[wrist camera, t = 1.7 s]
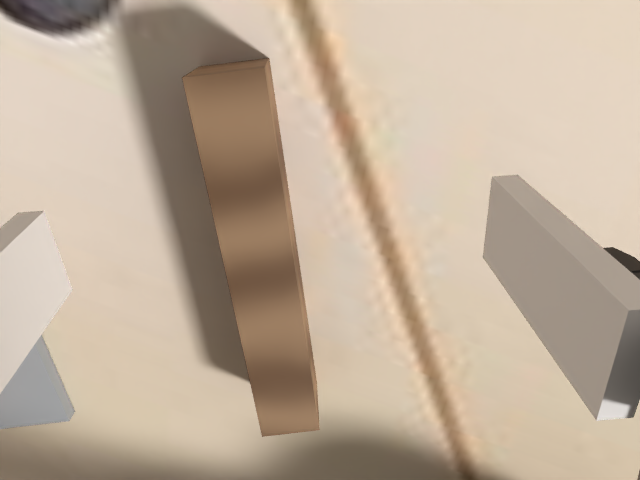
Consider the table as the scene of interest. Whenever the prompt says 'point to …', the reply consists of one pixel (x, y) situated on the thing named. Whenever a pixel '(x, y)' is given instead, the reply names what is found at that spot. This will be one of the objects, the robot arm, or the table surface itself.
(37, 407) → the fulcrum stand
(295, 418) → the walnut bar
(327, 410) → the table surface
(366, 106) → the table surface
